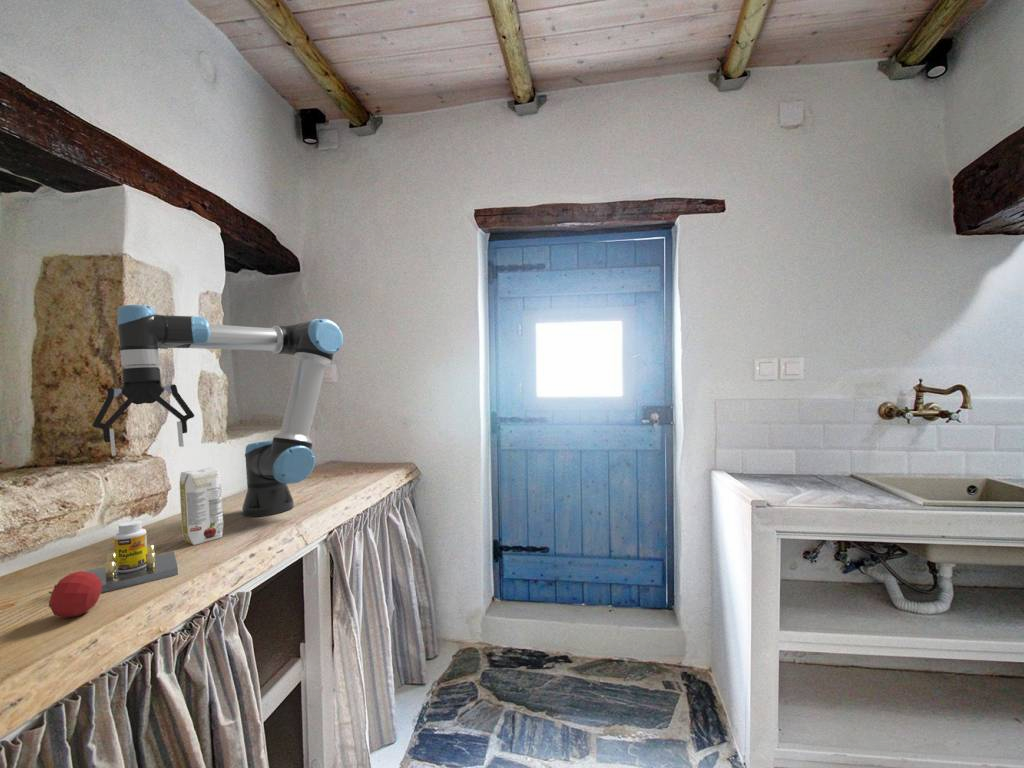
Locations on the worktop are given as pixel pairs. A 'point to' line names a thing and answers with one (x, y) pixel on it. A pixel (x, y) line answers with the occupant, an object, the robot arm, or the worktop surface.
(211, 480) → the juice carton
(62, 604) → the tomato
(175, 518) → the worktop surface
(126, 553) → the supplement bottle
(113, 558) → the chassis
